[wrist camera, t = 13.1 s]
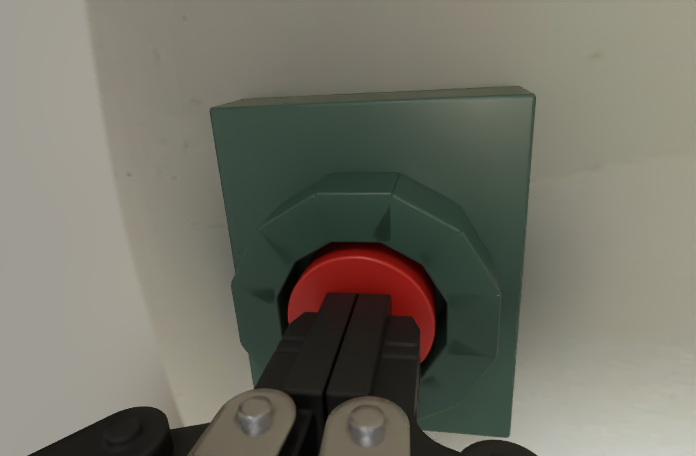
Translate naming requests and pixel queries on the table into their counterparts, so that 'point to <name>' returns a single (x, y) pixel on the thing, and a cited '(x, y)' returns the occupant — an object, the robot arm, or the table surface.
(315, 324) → the robot arm
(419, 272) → the stop button
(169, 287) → the table surface
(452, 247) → the button block
